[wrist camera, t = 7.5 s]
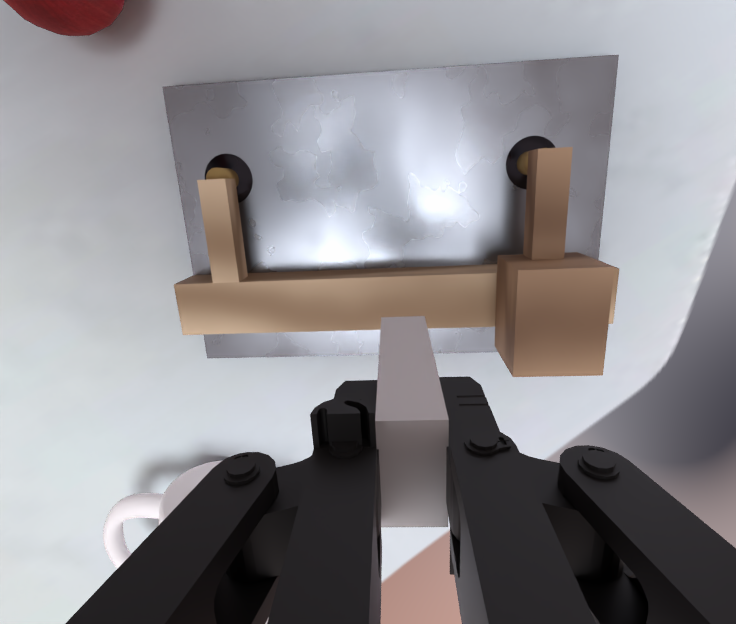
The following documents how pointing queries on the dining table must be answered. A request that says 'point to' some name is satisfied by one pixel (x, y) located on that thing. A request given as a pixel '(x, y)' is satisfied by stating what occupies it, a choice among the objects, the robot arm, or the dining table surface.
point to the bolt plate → (389, 174)
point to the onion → (69, 14)
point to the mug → (148, 510)
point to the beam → (320, 286)
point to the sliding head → (551, 284)
